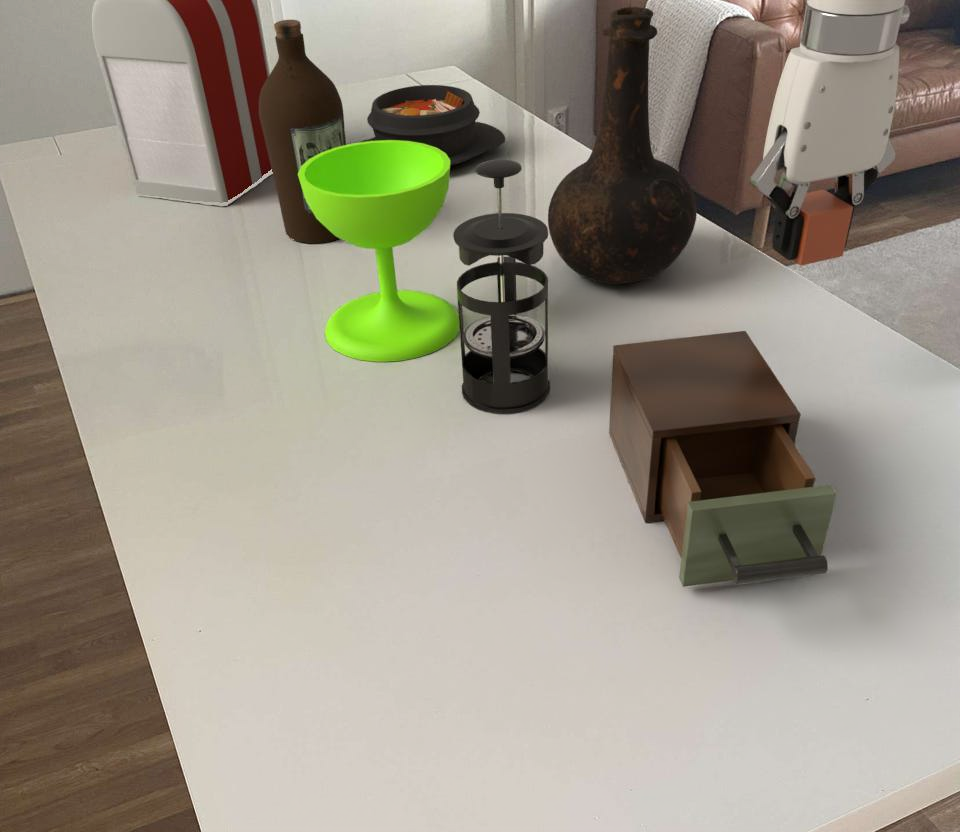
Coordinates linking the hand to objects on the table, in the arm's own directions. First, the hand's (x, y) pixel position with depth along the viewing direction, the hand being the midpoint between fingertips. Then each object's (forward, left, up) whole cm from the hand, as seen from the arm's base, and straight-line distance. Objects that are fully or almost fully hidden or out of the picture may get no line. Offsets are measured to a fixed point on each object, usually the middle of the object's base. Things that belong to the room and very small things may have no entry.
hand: (808, 246), depth 95 cm
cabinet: (+13, +13, -14) cm, 24 cm away
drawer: (+13, +26, -14) cm, 32 cm away
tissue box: (+64, -74, -15) cm, 99 cm away
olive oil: (+47, -51, -15) cm, 71 cm away
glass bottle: (+11, -30, -15) cm, 35 cm away
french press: (+28, -5, -15) cm, 32 cm away
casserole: (+30, -74, -15) cm, 82 cm away
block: (0, 0, 0) cm, 0 cm away
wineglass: (+39, -21, -15) cm, 47 cm away
